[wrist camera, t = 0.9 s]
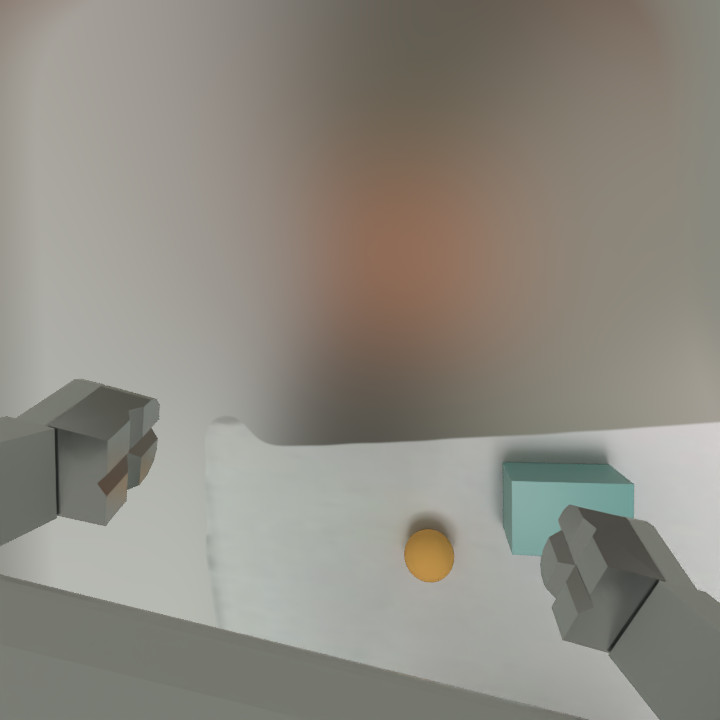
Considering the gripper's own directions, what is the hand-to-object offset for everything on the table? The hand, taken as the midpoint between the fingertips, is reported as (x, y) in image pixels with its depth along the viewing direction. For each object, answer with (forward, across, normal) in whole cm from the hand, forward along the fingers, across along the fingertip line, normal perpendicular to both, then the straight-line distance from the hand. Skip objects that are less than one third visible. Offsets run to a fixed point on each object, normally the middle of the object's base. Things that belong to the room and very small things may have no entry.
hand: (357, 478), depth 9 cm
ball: (+30, +12, -30) cm, 43 cm away
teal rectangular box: (+33, +23, -21) cm, 45 cm away
